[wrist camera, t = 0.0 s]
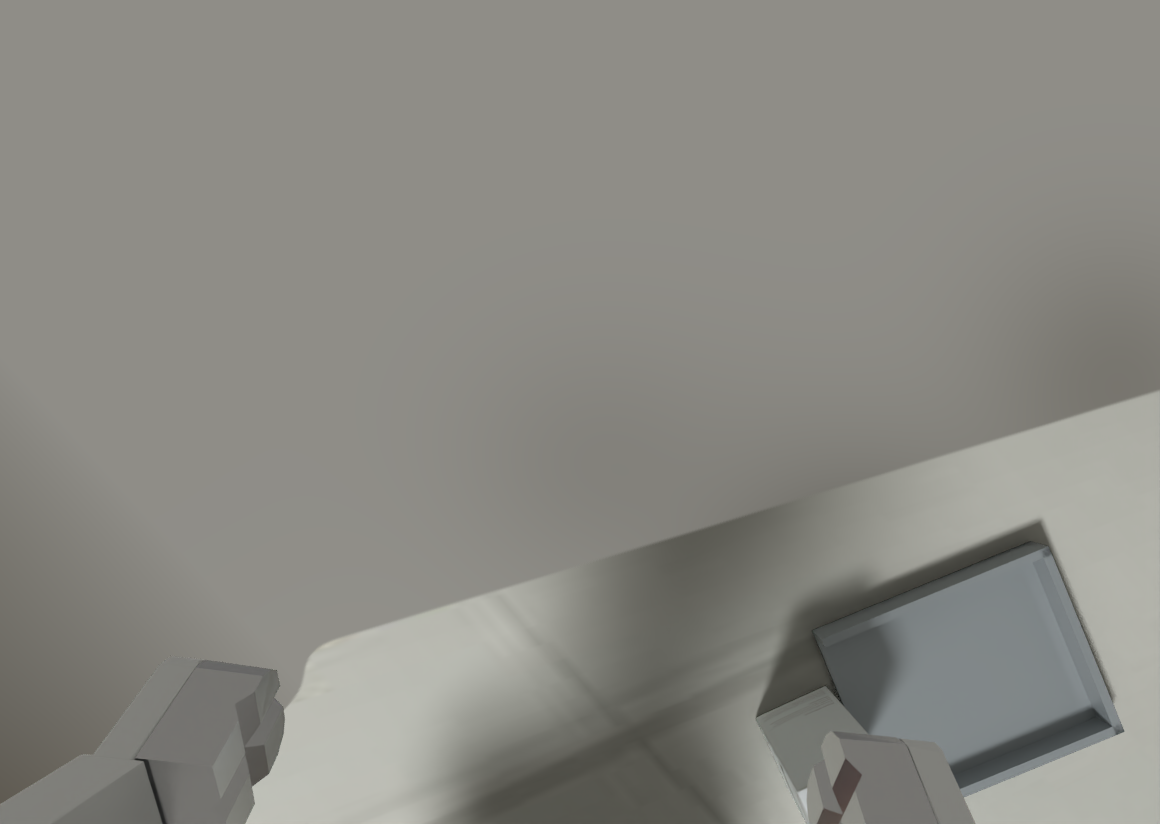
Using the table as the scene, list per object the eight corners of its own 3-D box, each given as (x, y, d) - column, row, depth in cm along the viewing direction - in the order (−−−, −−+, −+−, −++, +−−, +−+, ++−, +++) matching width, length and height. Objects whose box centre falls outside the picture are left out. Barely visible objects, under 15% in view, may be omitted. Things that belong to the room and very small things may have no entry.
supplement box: (752, 716, 65) (794, 789, 52) (826, 683, 65) (886, 748, 52) (785, 790, 65) (835, 881, 52) (859, 757, 65) (927, 840, 52)
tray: (1103, 719, 65) (1124, 731, 62) (885, 808, 65) (897, 824, 62) (1030, 541, 65) (1048, 546, 62) (812, 630, 65) (821, 639, 62)
